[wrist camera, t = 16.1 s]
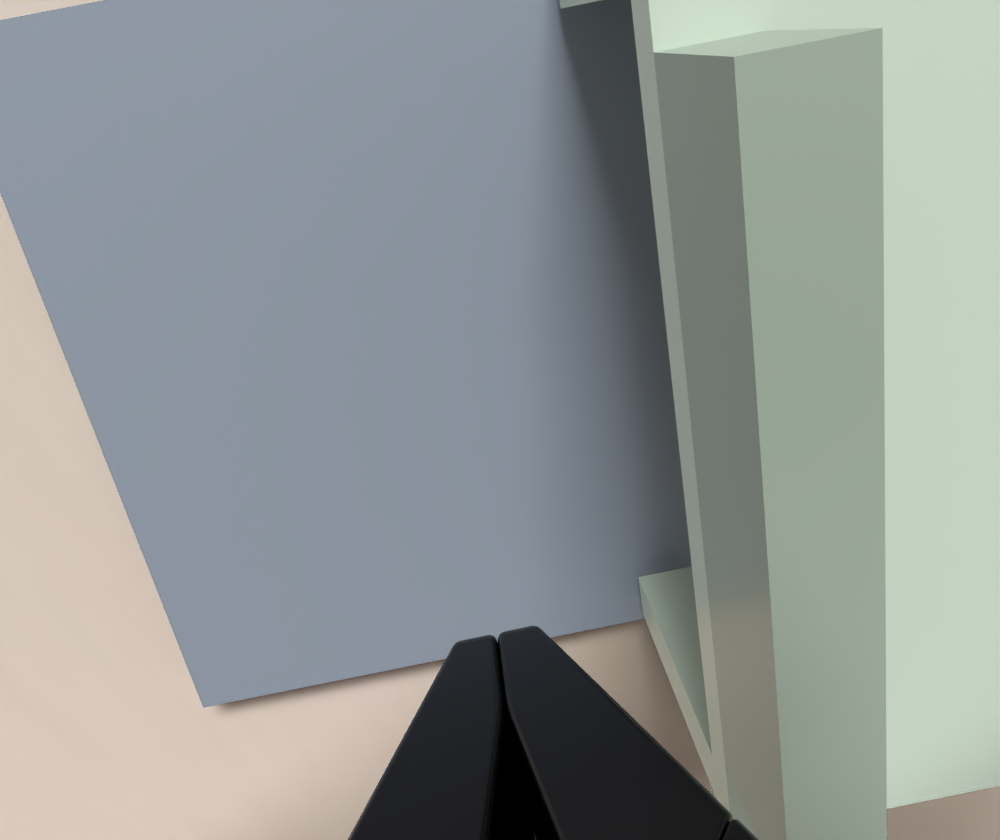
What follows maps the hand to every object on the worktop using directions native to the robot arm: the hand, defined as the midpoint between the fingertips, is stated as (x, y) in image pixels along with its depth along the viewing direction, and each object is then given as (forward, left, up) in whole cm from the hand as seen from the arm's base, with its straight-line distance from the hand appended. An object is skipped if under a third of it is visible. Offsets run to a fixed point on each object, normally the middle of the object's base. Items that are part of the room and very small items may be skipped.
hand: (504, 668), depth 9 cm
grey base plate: (-4, 0, -10) cm, 11 cm away
